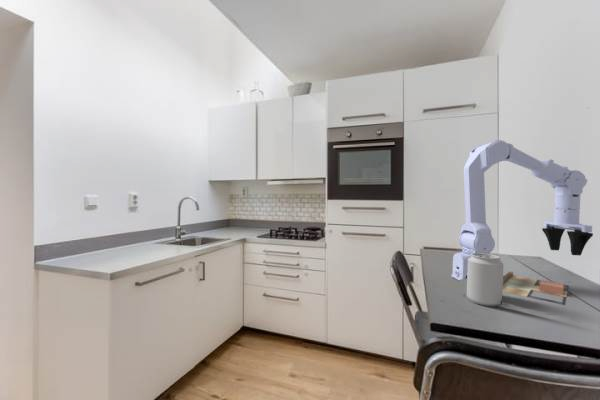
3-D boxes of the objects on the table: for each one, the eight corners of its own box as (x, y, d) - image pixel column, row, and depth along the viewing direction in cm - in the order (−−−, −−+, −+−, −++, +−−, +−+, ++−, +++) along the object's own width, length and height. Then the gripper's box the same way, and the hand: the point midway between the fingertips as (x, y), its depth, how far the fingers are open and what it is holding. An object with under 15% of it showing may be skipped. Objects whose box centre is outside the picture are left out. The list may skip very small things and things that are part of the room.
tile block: (539, 290, 75) (540, 283, 75) (541, 287, 78) (541, 280, 78) (562, 295, 72) (562, 287, 72) (563, 291, 75) (563, 284, 75)
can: (495, 298, 73) (497, 253, 72) (506, 309, 65) (508, 259, 65) (463, 294, 75) (464, 250, 75) (470, 304, 68) (472, 256, 68)
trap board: (493, 294, 75) (493, 285, 75) (509, 279, 91) (509, 271, 91) (564, 311, 65) (564, 300, 65) (568, 290, 81) (568, 281, 81)
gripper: (604, 210, 79) (602, 258, 79) (560, 208, 93) (558, 248, 94) (578, 210, 79) (576, 257, 80) (538, 207, 94) (536, 247, 94)
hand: (564, 252), depth 87 cm, fingers open, 7 cm apart
